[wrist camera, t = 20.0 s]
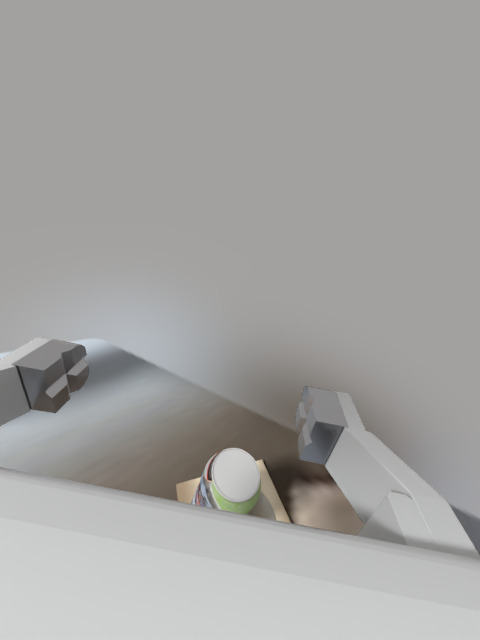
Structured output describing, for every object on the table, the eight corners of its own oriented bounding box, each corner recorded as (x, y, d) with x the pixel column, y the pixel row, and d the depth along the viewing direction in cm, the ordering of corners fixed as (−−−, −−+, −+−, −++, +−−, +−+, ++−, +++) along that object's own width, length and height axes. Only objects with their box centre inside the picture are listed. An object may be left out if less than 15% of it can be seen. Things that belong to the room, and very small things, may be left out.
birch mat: (196, 630, 23) (196, 628, 22) (176, 486, 33) (176, 484, 33) (309, 569, 28) (311, 567, 27) (261, 461, 38) (261, 459, 38)
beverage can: (205, 484, 33) (214, 424, 28) (254, 516, 31) (274, 456, 26) (175, 533, 28) (179, 471, 23) (230, 576, 26) (250, 518, 20)
